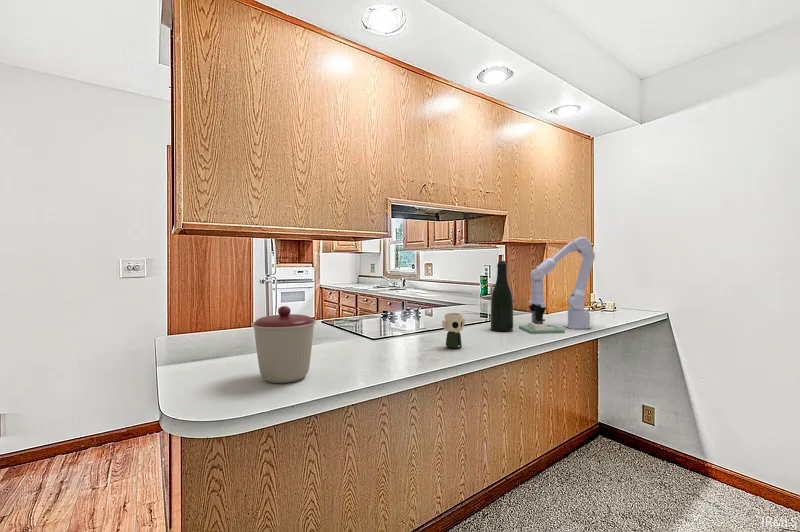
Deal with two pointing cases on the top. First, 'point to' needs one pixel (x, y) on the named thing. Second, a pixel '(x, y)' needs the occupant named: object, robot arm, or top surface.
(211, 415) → the top surface
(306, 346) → the canister
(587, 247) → the robot arm
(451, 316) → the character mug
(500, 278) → the wine bottle
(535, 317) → the plug
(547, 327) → the board
